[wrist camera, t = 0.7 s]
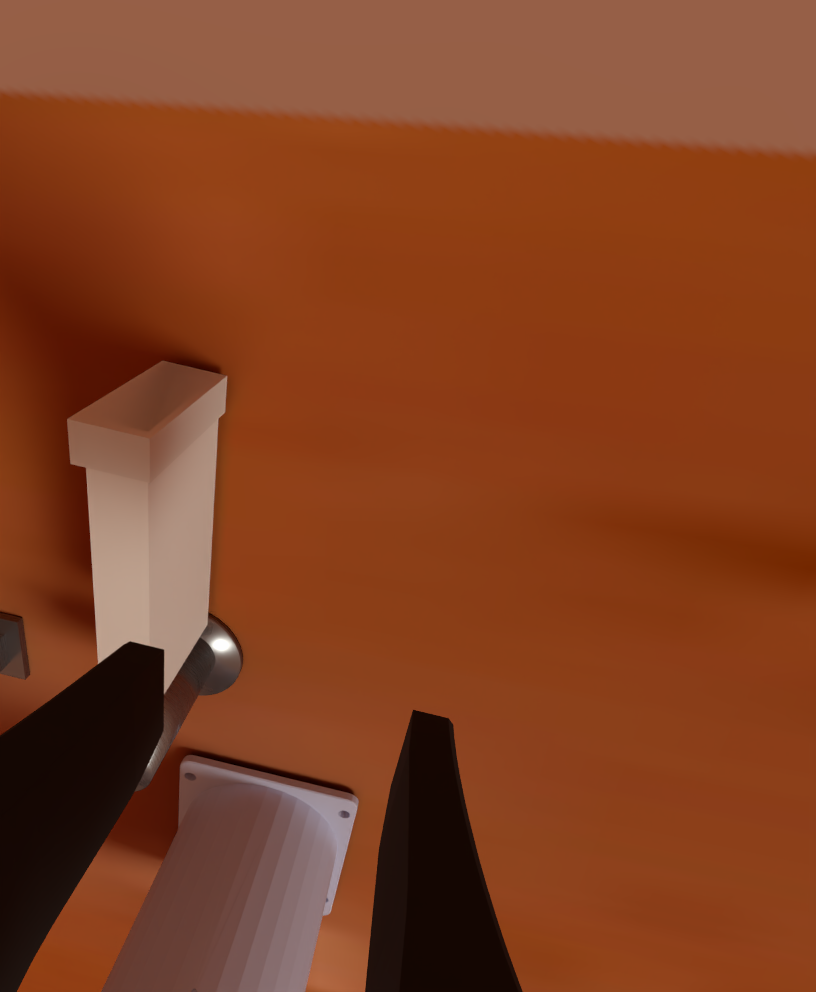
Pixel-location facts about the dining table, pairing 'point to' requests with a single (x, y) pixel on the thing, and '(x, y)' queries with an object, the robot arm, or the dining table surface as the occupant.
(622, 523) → the dining table surface
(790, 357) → the dining table surface
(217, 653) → the pivot post
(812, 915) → the dining table surface
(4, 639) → the latch block
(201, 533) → the lipped cream column
